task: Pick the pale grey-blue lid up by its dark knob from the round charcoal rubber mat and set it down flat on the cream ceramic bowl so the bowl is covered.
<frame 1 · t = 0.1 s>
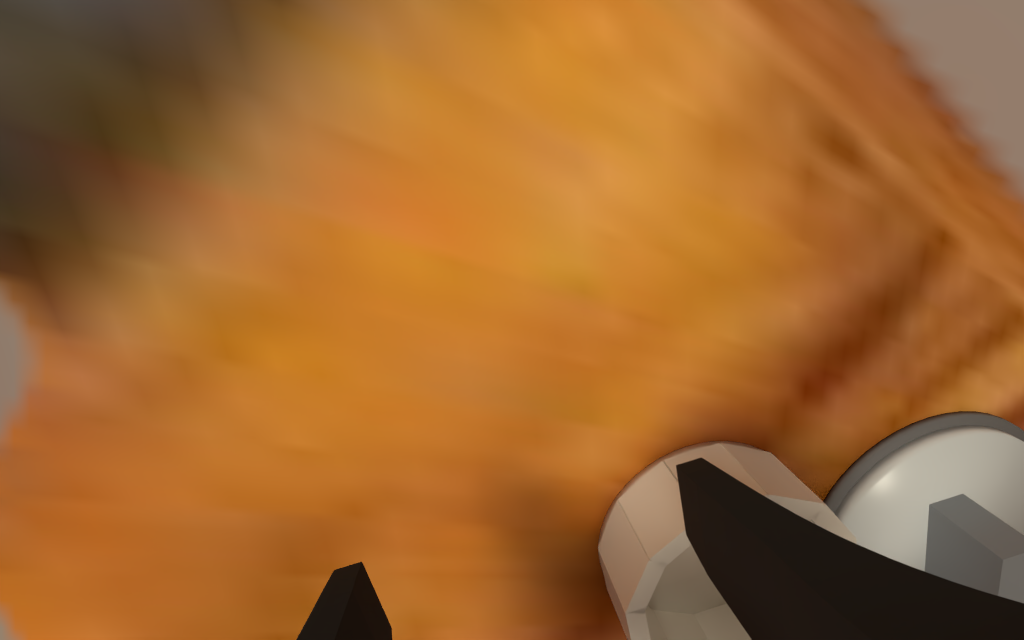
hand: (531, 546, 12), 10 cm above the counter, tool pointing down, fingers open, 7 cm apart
mat: (922, 521, 29), on the counter
bowl: (698, 531, 26), on the counter
lid: (929, 526, 28), resting on mat
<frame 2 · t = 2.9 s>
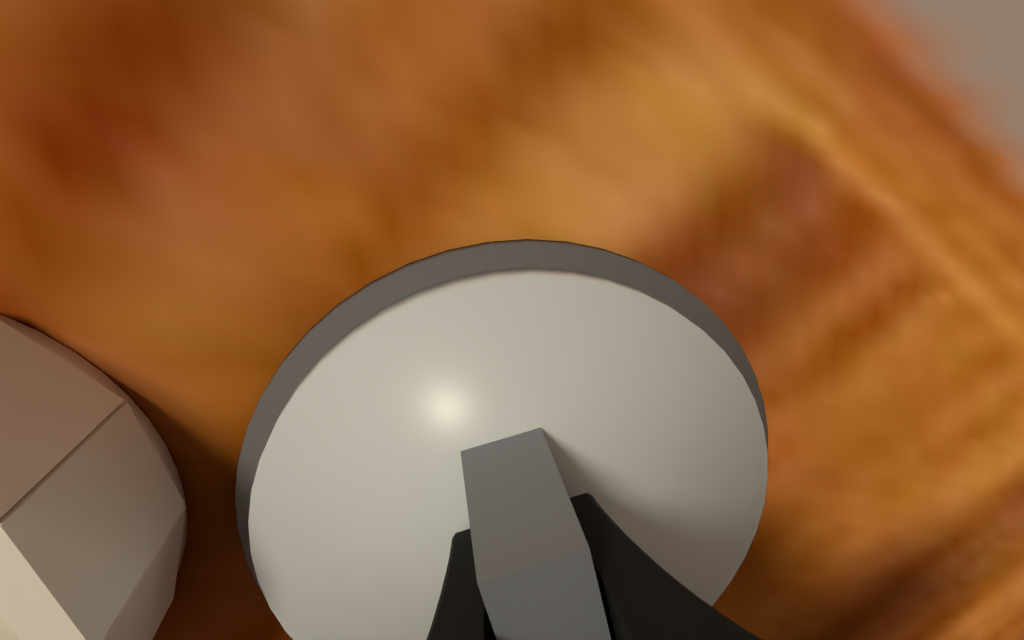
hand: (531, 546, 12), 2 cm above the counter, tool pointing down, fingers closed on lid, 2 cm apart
mat: (518, 495, 14), on the counter
lid: (520, 505, 13), resting on mat, touching gripper
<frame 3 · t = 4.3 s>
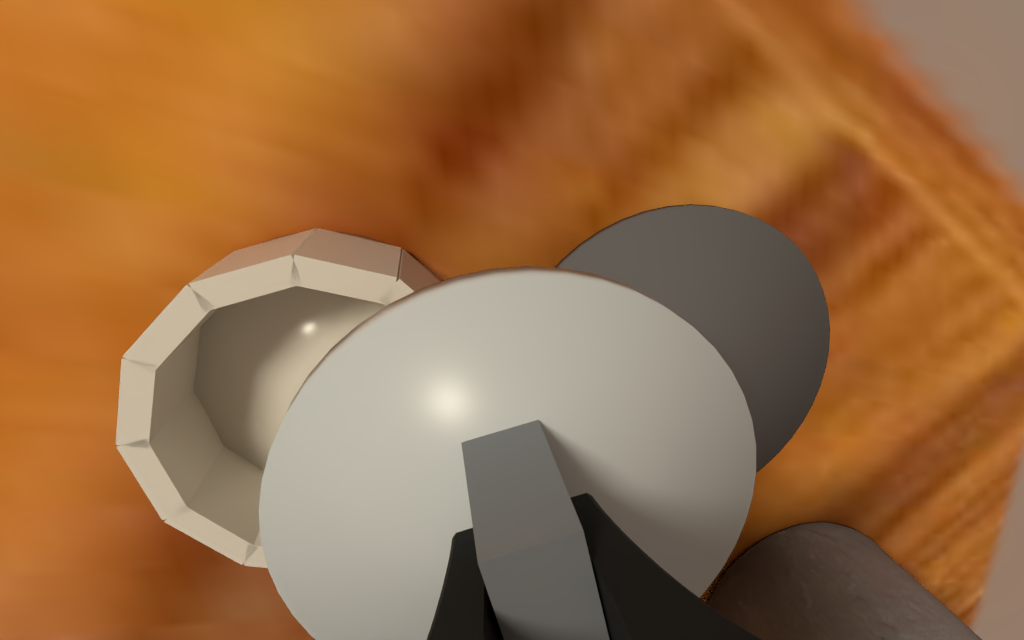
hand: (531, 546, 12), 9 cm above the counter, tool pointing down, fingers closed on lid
mat: (670, 371, 21), on the counter
bowl: (334, 372, 19), on the counter
pillar candle: (792, 593, 27), on the counter
lid: (518, 495, 14), point 7 cm above the counter, touching gripper
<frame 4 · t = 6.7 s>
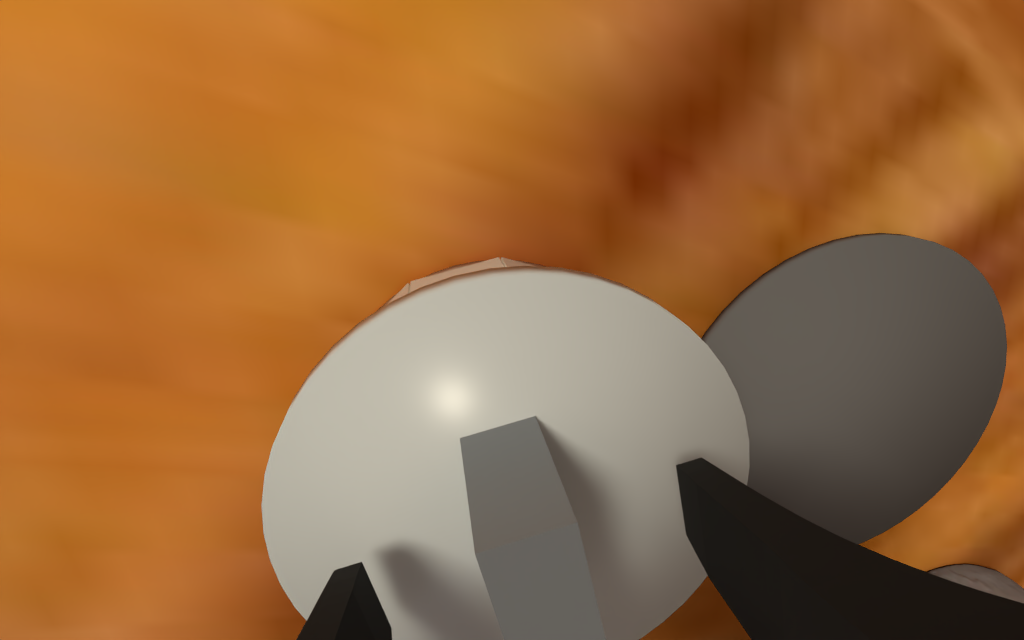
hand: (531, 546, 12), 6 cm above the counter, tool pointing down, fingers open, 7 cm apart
mat: (835, 409, 20), on the counter
bowl: (495, 409, 18), on the counter
pillar candle: (924, 636, 26), on the counter
lid: (516, 490, 14), point 4 cm above the counter, touching bowl
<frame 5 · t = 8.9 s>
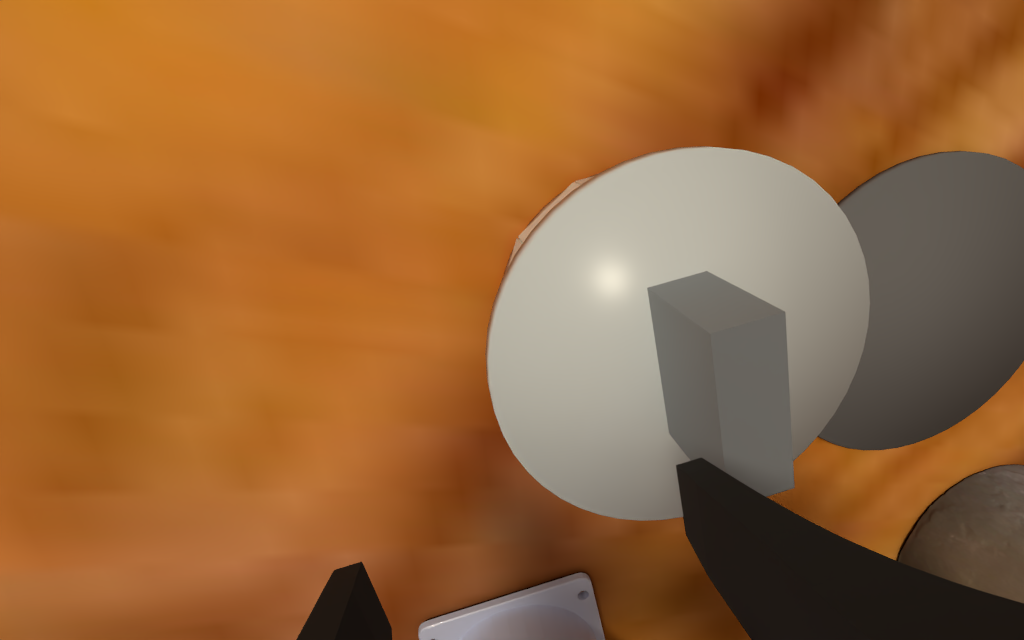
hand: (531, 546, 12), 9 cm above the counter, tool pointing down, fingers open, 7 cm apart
mat: (912, 312, 23), on the counter
bowl: (629, 302, 21), on the counter
pillar candle: (976, 535, 29), on the counter
lid: (675, 346, 17), point 4 cm above the counter, touching bowl
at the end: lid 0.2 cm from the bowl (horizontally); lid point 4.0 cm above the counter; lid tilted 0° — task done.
